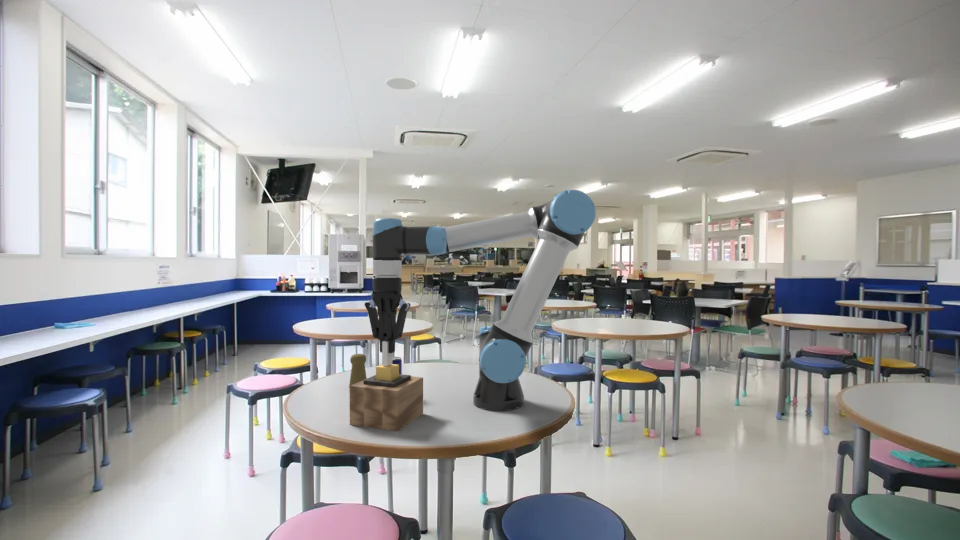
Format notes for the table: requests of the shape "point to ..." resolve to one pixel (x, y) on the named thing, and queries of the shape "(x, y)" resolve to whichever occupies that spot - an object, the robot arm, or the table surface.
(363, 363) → the cork
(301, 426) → the table surface
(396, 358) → the energy drink
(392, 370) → the peg
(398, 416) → the socket block
